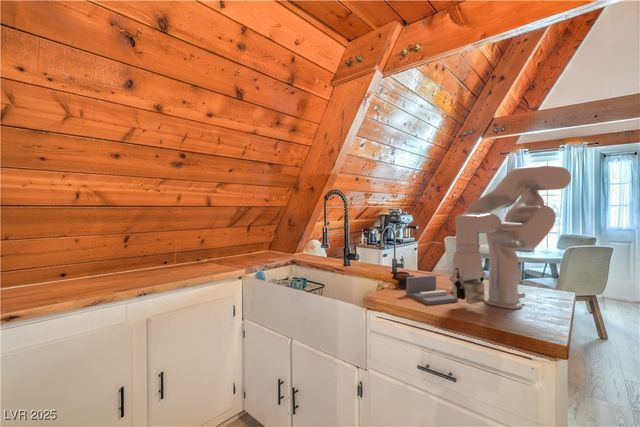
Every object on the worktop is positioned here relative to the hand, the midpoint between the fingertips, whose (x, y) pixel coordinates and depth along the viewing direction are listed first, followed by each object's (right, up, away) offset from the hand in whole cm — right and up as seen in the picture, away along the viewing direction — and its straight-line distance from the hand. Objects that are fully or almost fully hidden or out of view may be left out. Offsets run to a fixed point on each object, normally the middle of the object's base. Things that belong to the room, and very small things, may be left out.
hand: (468, 296), depth 106 cm
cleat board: (-9, -4, +13) cm, 16 cm away
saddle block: (0, -1, 0) cm, 1 cm away
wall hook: (+8, -5, +22) cm, 24 cm away
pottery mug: (-15, -4, +30) cm, 34 cm away
